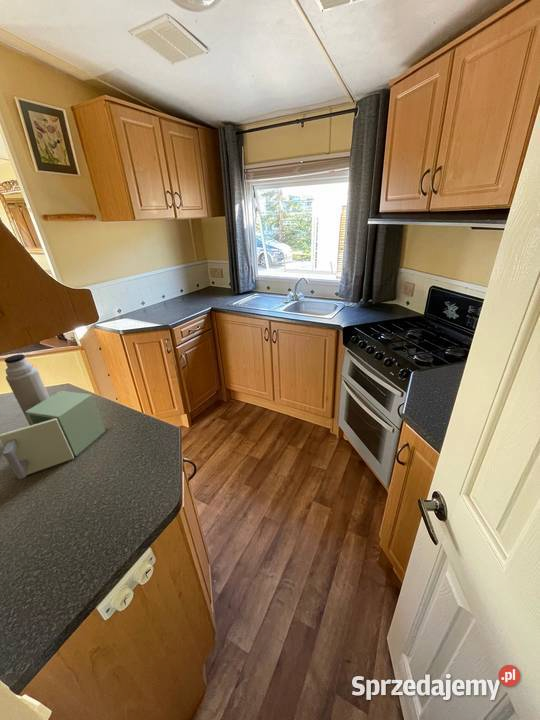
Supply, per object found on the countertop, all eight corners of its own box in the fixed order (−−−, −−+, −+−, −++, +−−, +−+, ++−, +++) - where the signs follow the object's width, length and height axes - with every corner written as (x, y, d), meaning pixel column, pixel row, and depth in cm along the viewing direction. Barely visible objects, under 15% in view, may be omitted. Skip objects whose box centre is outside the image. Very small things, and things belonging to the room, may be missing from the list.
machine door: (73, 471, 83) (54, 431, 77) (17, 491, 77) (-8, 450, 71) (74, 456, 88) (56, 417, 82) (22, 474, 83) (-1, 434, 77)
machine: (76, 456, 89) (58, 416, 82) (44, 449, 92) (24, 411, 86) (105, 431, 99) (91, 394, 93) (75, 426, 102) (60, 390, 96)
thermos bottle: (29, 433, 100) (-9, 360, 88) (53, 419, 107) (21, 350, 94) (42, 439, 97) (5, 364, 85) (66, 425, 103) (35, 353, 91)
